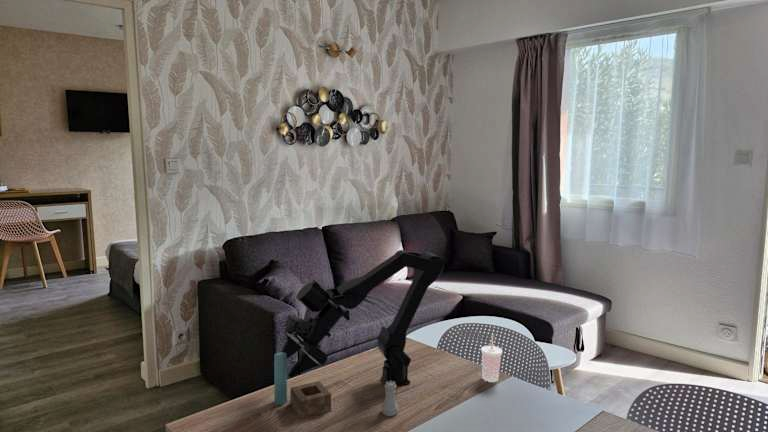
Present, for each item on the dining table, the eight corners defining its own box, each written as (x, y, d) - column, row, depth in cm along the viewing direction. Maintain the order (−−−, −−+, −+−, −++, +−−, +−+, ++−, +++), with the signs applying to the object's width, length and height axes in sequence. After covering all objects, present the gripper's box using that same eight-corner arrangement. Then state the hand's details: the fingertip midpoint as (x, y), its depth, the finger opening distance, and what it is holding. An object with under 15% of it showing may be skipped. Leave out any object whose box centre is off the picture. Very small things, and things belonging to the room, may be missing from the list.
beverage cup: (504, 382, 147) (506, 336, 145) (483, 383, 146) (486, 337, 144) (496, 373, 153) (498, 329, 151) (476, 374, 152) (479, 329, 150)
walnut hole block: (319, 396, 136) (319, 381, 136) (331, 410, 129) (331, 394, 129) (290, 403, 132) (290, 387, 132) (301, 418, 125) (301, 401, 125)
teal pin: (284, 397, 135) (284, 351, 133) (288, 403, 132) (288, 356, 131) (273, 400, 134) (272, 353, 132) (276, 406, 131) (276, 358, 129)
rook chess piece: (396, 418, 127) (397, 387, 125) (379, 415, 127) (380, 385, 126) (399, 409, 131) (400, 379, 130) (382, 406, 132) (383, 377, 131)
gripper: (291, 295, 141) (252, 339, 137) (316, 315, 125) (273, 366, 121) (317, 318, 146) (280, 362, 142) (345, 341, 129) (304, 390, 126)
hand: (283, 369), depth 132 cm, fingers open, 9 cm apart
